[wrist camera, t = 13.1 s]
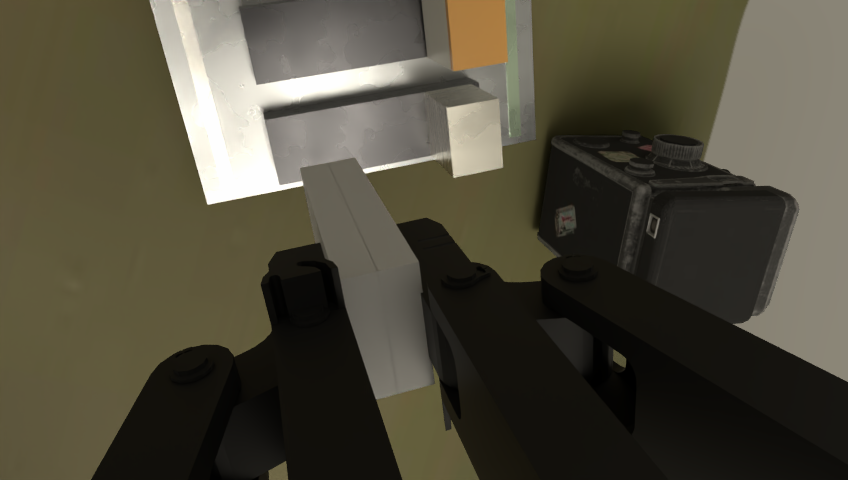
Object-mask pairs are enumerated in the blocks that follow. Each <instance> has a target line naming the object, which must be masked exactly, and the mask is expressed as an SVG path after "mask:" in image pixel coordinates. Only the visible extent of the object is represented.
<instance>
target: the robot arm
mask: <svg viewBox="0 0 848 480" xmlns="http://www.w3.org/2000/svg"><path fill="white" fill-rule="evenodd" d="M300 172H301V177H302V181H303V186H304V191H305V196H306V200H307V205H308V210H309V215H310V220H311V224H312V229H313V234H314V239H315V244H311V245H306V246H302V247H297V248H292V249H288V250H283V251H279V252H276V253H275V255H274V256H273V258H272V259H271V261H270V262H269V264H268V267H269V272H268V273H267V274H266V275H265V276H264V277H263V279H262V282H261V288H262V291H263V295H264V299H265V303H266V307H267V311H268V314H269V318H270V322H271V327H272V332H271V333H270V335H269V336H268V337H267V338H266V339H265V340H264V341H262V342H261V343H260V344H258V345H257V346H256V347H254V348H252V349H250V350H248V351H246V352H244V353H242V354H240V355H237V356H235V357H234V356H233V354H232V353H231V352H230V351H229V349H228V348H225V347H222V346H219V345H200V346H196V347H189V348H186V349H183V351H179V352H177V353H175V354H173V355H172V356H170V357H169V358H167V359H166V360H164V361H163V362H161V363H160V364H159V365H158V366H157V367H156V369H155V370H154V371H153V372H152V373H151V375H150V377H149V378H148V380H147V382H146V384H145V386H144V387H143V389H142V391H141V393H140V394H139V396H138V398H137V400H136V401H135V403H134V405H133V407H132V408H131V410H130V412H129V414H128V415H127V417H126V419H125V421H124V423H123V424H122V426H121V428H120V430H119V431H118V433H117V435H116V437H115V438H114V440H113V442H112V444H111V445H110V447H109V449H108V451H107V453H106V454H105V456H104V458H103V460H102V461H101V463H100V465H99V467H98V468H97V470H96V472H95V474H94V475H93V477H92V479H91V480H269V472H268V471H269V470H270V469H272V468H274V467H276V466H278V465H279V464H281V463H283V462H285V461H286V463H287V472H288V480H402V477H401V474H400V471H399V468H398V465H397V462H396V459H395V456H394V453H393V450H392V447H391V444H390V441H389V438H388V435H387V432H386V429H385V426H384V423H383V420H382V417H381V413H380V410H379V407H378V404H377V401H376V400H377V399H381V398H384V397H388V396H392V395H395V394H399V393H403V392H406V391H410V390H414V389H417V388H421V387H425V386H428V385H432V384H435V382H434V374H433V367H432V364H433V366H434V368H435V370H436V372H437V374H438V376H439V381H440V389H441V397H442V405H443V413H444V421H445V428H446V431H447V430H450V429H451V420H452V422H453V424H454V426H455V428H456V431H457V433H458V435H459V437H460V439H461V441H462V443H463V446H464V448H465V450H466V452H467V454H468V456H469V458H470V461H471V463H472V465H473V467H474V469H475V471H476V473H477V475H478V478H479V480H848V382H847V381H845V380H843V379H841V378H839V377H836V376H835V375H833V374H831V373H829V372H827V371H825V370H823V369H821V368H819V367H816V366H815V365H813V364H811V363H809V362H807V361H805V360H803V359H801V358H799V357H797V356H795V355H793V354H791V353H789V352H787V351H785V350H783V349H781V348H779V347H777V346H775V345H773V344H771V343H769V342H767V341H765V340H763V339H761V338H759V337H757V336H755V335H753V334H751V333H749V332H747V331H745V330H743V329H741V328H739V327H737V326H735V325H733V324H731V323H729V322H727V321H725V320H723V319H721V318H719V317H717V316H715V315H713V314H711V313H709V312H707V311H705V310H703V309H701V308H699V307H697V306H695V305H693V304H691V303H689V302H687V301H685V300H683V299H681V298H679V297H677V296H675V295H673V294H671V293H669V292H667V291H665V290H663V289H661V288H659V287H657V286H655V285H653V284H652V283H650V282H648V281H646V280H644V279H642V278H640V277H638V276H636V275H634V274H632V273H630V272H628V271H626V270H624V269H622V268H620V267H618V266H616V265H614V264H612V263H610V262H608V261H606V260H603V259H600V258H597V257H595V256H589V255H583V254H573V255H572V254H568V255H564V256H561V257H557V258H553V259H552V260H550V261H548V262H547V263H545V264H544V265H543V267H542V269H541V281H536V282H504V281H503V280H502V279H501V277H500V276H499V275H498V274H497V272H496V271H495V270H493V269H492V268H490V267H489V266H487V265H483V264H480V263H475V262H471V261H470V260H469V259H468V258H467V256H466V255H465V254H464V253H463V251H462V250H461V249H460V247H459V246H458V245H457V244H456V243H455V241H454V240H453V238H452V237H451V236H450V235H449V233H448V232H447V231H446V229H445V228H444V227H443V226H442V224H440V223H438V222H435V221H433V220H431V219H428V218H423V219H418V220H414V221H409V222H404V223H400V224H396V223H395V222H394V220H393V219H392V217H391V215H390V214H389V212H388V210H387V209H386V207H385V205H384V204H383V202H382V201H381V199H380V197H379V196H378V194H377V192H376V191H375V189H374V187H373V186H372V184H371V183H370V181H369V179H368V178H367V176H366V174H365V173H364V171H363V169H362V168H361V166H360V165H359V163H358V161H357V160H356V158H349V159H344V160H339V161H334V162H329V163H323V164H318V165H313V166H308V167H303V168H300ZM613 349H614V350H616V351H617V352H619V353H620V354H622V355H623V356H624V357H625V358H626V367H625V368H624V367H622V366H620V365H619V364H617V363H616V362H614V361H613Z"/></svg>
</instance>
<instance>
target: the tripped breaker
mask: <svg viewBox="0 0 848 480" xmlns="http://www.w3.org/2000/svg"><path fill="white" fill-rule="evenodd" d="M421 1H422V11H423V20H424V30H425V39H426V49H427V58H429V59H431V60H433V61H434V62H436V63H438V64H440V65H442V66H444V67H446V68H448V69H450V70H452V71H459V70H464V69H470V68H476V67H482V66H488V65H494V64H500V63H506V62H508V53H507V33H506V13H505V0H421Z"/></svg>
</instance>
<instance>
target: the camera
mask: <svg viewBox="0 0 848 480" xmlns="http://www.w3.org/2000/svg"><path fill="white" fill-rule="evenodd" d="M551 144H552V147H551V153H550V160H549V167H548V173H547V180H546V187H545V193H544V200H543V207H542V213H541V220H540V227H539V232H537V236H538V240H539V241H540V242H542V243H543V244H544V245H545V246H546V247H547V248H548V249H549V250H550V251H551V252H552V253H553V254H554V255H556V256H557V257H561V256H564V255H568V254H572V255H573V254H583V255H589V256H595V257H597V258H600V259H603V260H606V261H608V262H610V263H612V264H614V265H616V266H618V267H620V268H622V269H624V270H626V271H628V272H630V273H632V274H634V275H636V276H638V277H640V278H642V279H644V280H646V281H648V282H650V283H652V284H653V285H655V286H657V287H659V288H661V289H663V290H665V291H667V292H669V293H671V294H673V295H675V296H677V297H679V298H681V299H683V300H685V301H687V302H689V303H691V304H693V305H695V306H697V307H699V308H701V309H703V310H705V311H707V312H709V313H711V314H713V315H715V316H717V317H719V318H721V319H723V320H725V321H727V322H729V323H731V324H736V323H743V322H745V321H747V320H749V319H750V317H751V316H758V315H760V314H761V313H763V312H764V311H765V309H766V308H767V306H768V305H769V303H770V300H771V297H772V294H773V291H774V288H775V284H776V281H777V278H778V275H779V272H780V269H781V266H782V262H783V259H784V256H785V253H786V250H787V247H788V244H789V241H790V237H791V234H792V231H793V228H794V225H795V222H796V219H797V216H798V212H799V206H798V203H797V201H796V199H795V198H794V197H792V196H791V195H790V194H788V193H786V192H783V191H781V190H778V189H776V188H774V187H771V186H755V184H754V181H752V180H750V179H748V178H745V177H743V176H736V175H733V174H731V173H730V172H729V171H728V170H726V169H719V168H717V167H715V166H712V165H710V164H708V163H706V162H703V161H701V160H699V159H700V158H701V155H702V151H703V147H704V143H703V142H701V141H700V140H697V139H694V138H690V137H685V136H679V135H669V134H661V135H655V136H654V139H653V141H652V140H650V139H647V138H645V137H643V136H640V133H639V132H637V131H632V130H623V131H622V136H586V135H561V136H555V137H553V138H552V140H551Z"/></svg>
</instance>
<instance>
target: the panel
mask: <svg viewBox="0 0 848 480" xmlns="http://www.w3.org/2000/svg"><path fill="white" fill-rule="evenodd" d="M149 1H150V4H151V8H152V11H153V15H154V18H155V22H156V25H157V29H158V32H159V36H160V39H161V43H162V46H163V50H164V53H165V57H166V60H167V64H168V67H169V71H170V74H171V78H172V81H173V85H174V88H175V92H176V95H177V99H178V102H179V106H180V109H181V113H182V116H183V120H184V123H185V127H186V130H187V134H188V137H189V141H190V144H191V148H192V151H193V155H194V158H195V162H196V165H197V169H198V172H199V176H200V179H201V183H202V186H203V190H204V193H205V197H206V200H207V204H213V203H218V202H223V201H228V200H233V199H239V198H244V197H249V196H254V195H259V194H264V193H269V192H274V191H279V190H284V189H289V188H294V187H299V186H303V181H302V177H301V172H300V168H303V167H308V166H313V165H318V164H323V163H329V162H334V161H339V160H344V159H349V158H356V160H357V161H358V163H359V165H360V166H361V168H362V169H363V171H364V173H370V172H375V171H380V170H385V169H390V168H395V167H400V166H405V165H410V164H415V163H420V162H425V161H430V160H436V161H437V162H438V163H439V164H440V165H441V166H442V167H443V168H444V169H445V170H446V171H447V172H448V173H449V174H450V175H451V176H452V177H453V178H455V177H460V176H465V175H470V174H475V173H480V172H484V171H489V170H494V169H499V168H503V159H502V146H506V145H511V144H516V143H521V142H526V141H531V140H536V134H535V104H534V74H533V44H532V14H531V0H505V13H506V33H507V53H508V62H506V63H500V64H494V65H488V66H482V67H476V68H470V69H464V70H459V71H452V70H450V69H448V68H446V67H444V66H442V65H440V64H438V63H436V62H434V61H433V60H431V59H429V58H427V49H426V39H425V30H424V20H423V11H422V1H421V0H149Z"/></svg>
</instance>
